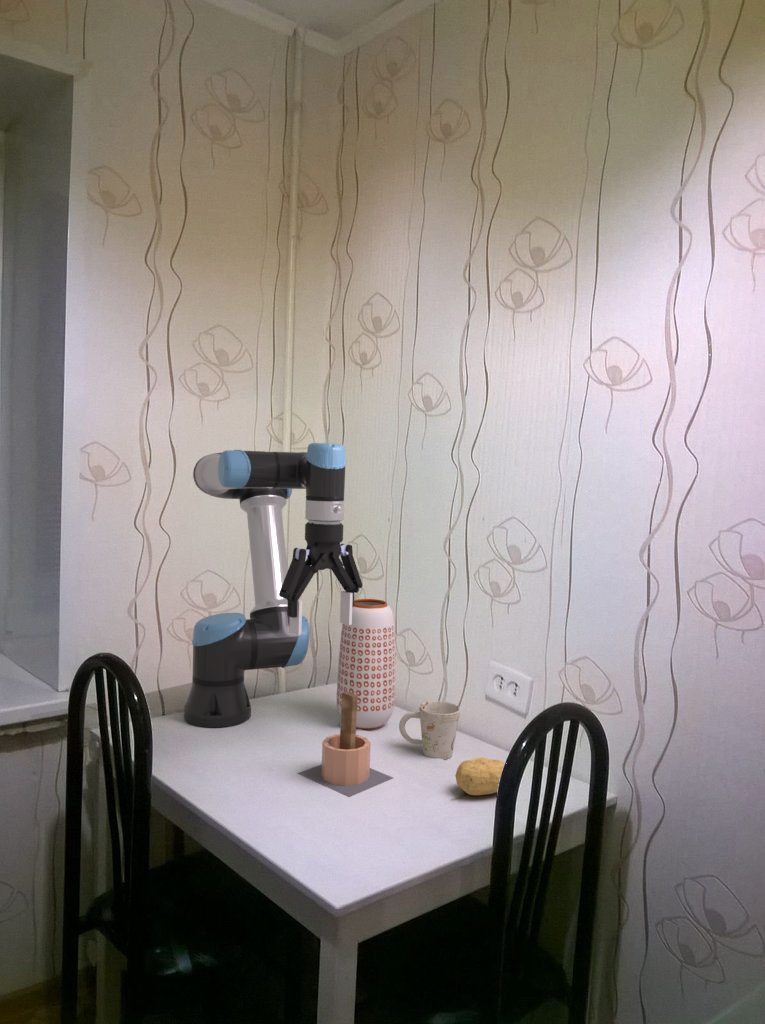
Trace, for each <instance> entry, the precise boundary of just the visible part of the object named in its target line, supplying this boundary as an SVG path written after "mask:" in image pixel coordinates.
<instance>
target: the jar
mask: <svg viewBox="0 0 765 1024" xmlns="http://www.w3.org/2000/svg"><path fill="white" fill-rule="evenodd" d="M321 744H322V749H321V751H322V752H321V764H322V777H323V779H324V780H325V781H327V782H329V783H332V784H336V785H343V786H348V785H358V784H360V783H363V782H365V781H367V779H368V777H369V775H370V768H371V767H370V766H371V746H372V745H371V741H370V740H369V738H367V737H365V736H362V735H359V734H356V737H355V749H347V750H346V749H339V747H340V733H338V734H337V733H336V734H333V735H330V736H329V735H328V736H327V737H325V738H324V739H323V741H322V743H321Z"/></svg>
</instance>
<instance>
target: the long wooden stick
mask: <svg viewBox="0 0 765 1024" xmlns="http://www.w3.org/2000/svg"><path fill="white" fill-rule="evenodd" d="M357 698H358V695H355V694H352V693H350V692H347V691H346V692H342V707H341V717H340V726H339V727H340V729H339V734H340V747H339V749H346V750H347V749H355V737H356V735H357V728H356V718H357Z"/></svg>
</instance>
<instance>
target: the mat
mask: <svg viewBox="0 0 765 1024" xmlns="http://www.w3.org/2000/svg"><path fill="white" fill-rule="evenodd" d="M297 775H300V776H302V777H304V778H307V779H309V780H311V781H312V782H315V783H318V784H319V785H322V786H324V787H326V788H328V789H331V790H333V791H335V792H337V793H339V794H341V795H343V796H346V797H348V798H351V797H353V796H355V795H357V794H360V793H362V792H365V791H367V790H369V789H372V788H374V787H376V786H379V785H381V784H383V783H385V782H389V781H391V780H392V779H394V777H393V776H390V775H388V774H386V773H383V772H380V771H378V770H376V769H373V768H371V767H370V775H369V777H368V779H367V781H365V782H363V783H360V784H358V785H348V786H343V785H336V784H332V783H329V782H327V781H325V780H324V779H323V777H322V763H321V764H319V765H315V766H313V767H310V768H308V769H305V770H302V771H300V772H298V773H297Z"/></svg>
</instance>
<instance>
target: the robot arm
mask: <svg viewBox="0 0 765 1024" xmlns="http://www.w3.org/2000/svg"><path fill="white" fill-rule="evenodd" d="M346 465H347V461H346V448H345V446H344V445H343V444H341V443H325V442H323V443H322V442H321V443H320V442H311V443H309V444H308V445H307V450H306V451H305V452H304V451H301V452H299V451H298V452H297V451H295V452H293V451H263V450H262V451H261V450H260V451H258V450H243V449H233V450H232V449H231V450H223V451H222V452H214V453H211V454H207V455H205V456H202V457H201V458H199V459H198V461H197V462H196V463H195V465H194V468H193V472H192V474H193V475H192V478H193V480H194V484H195V485H196V488H198V489H199V491H202V492H203V493H204V494H206V495H209V496H211V497H215V498H218V499H225V500H226V499H227V500H228V499H229V500H239V506H240V509H241V510H242V511H244V512H245V513H246V515H247V516H246V517H247V529H248V539H249V540H248V541H249V548H250V549H249V550H250V560H251V571H252V582H253V594H254V602H255V605H254V607H253V608H252V609H251V611H250V612H249V619H247V618H246V616H245V614H243V613H240V612H223V613H216V614H215V613H214V614H212V615H207V616H205V617H203V618H201V619H199V620H198V621H197V622H195V624H194V626H193V634H192V635H193V636H192V640H191V641H192V642H191V644H192V678H191V679H192V685H191V688H190V690H189V693H188V696H187V700H186V703H185V705H184V708H183V719H184V721H185V722H186V723H188V724H190V725H193V726H197V727H203V728H223V727H225V728H226V727H230V726H231V727H232V726H236V725H239V724H242V723H245V722H247V721H248V720H249V719H250V718H251V717H252V704H251V702H250V698H249V696H248V692H247V689H246V684H245V671H251V670H254V671H255V670H263V669H273V668H274V669H277V668H281V669H282V668H283V669H284V668H287V667H293V666H299V665H300V664H302V662H303V661H304V660H305V659H306V656H307V653H308V650H309V649H308V648H309V644H310V624H309V621H308V618H307V617H306V616H304V615H303V600H301V599H300V598H301V597H302V594H304V592H305V590H306V588H307V586H308V585H309V584H310V582H311V581H312V579H313V577H314V575H315V574H317V573H318V572H319V571H323V570H331V571H332V573H333V574H334V576H335V577H336V580H338V582H339V584H340V586H341V587H342V588H343V590H342V591H340V603H339V604H340V608H339V609H340V610H339V613H340V614H339V624H347V625H352V607H353V606H354V600H355V594H356V593H357V594H358V593H359V591H360V589H361V588H363V582H362V579H361V575H360V573H359V570H358V567H357V565H356V562H355V561H356V560H355V558H354V554H353V553H354V551H353V546H352V544H349V543H348V544H347V543H342V542H343V541H344V524H343V523H342V521H343V520H344V514H345V513H344V512H345V511H344V510H345V509H344V508H345V482H346ZM296 489H297V490H305V514H304V515H305V517H304V518H305V520H306V523H305V524H304V540H305V541H306V548H300V547H294V548H293V550H292V560H291V562H290V564H289V566H288V561H287V560H288V559H287V551H286V540H285V533H284V532H285V531H284V522H283V521H284V520H283V511H282V510H283V508H284V507H285V506H286V505H287V502H288V501H287V499H290V498H291V495H292V493H293V490H296Z"/></svg>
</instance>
